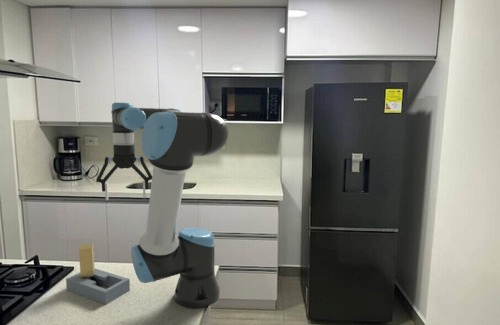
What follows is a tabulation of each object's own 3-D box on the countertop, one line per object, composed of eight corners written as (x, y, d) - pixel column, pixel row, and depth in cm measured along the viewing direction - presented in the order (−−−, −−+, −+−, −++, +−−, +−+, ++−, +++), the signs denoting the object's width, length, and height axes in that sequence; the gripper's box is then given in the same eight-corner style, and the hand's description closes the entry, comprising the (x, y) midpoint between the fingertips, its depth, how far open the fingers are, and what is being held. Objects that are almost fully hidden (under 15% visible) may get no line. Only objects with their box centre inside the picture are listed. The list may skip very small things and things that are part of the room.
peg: (96, 282, 121) (94, 243, 119) (95, 289, 116) (93, 248, 114) (81, 284, 119) (79, 244, 117) (79, 291, 115) (77, 250, 113)
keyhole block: (129, 290, 116) (129, 278, 115) (106, 304, 107) (105, 292, 106) (91, 277, 124) (90, 267, 124) (66, 290, 115) (65, 278, 115)
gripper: (157, 142, 133) (158, 194, 136) (89, 143, 125) (91, 198, 128) (158, 144, 126) (159, 198, 129) (86, 145, 118) (89, 203, 121)
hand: (126, 198), depth 128 cm, fingers open, 13 cm apart
